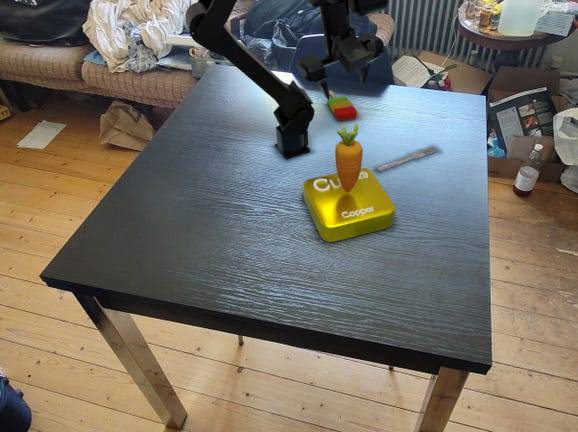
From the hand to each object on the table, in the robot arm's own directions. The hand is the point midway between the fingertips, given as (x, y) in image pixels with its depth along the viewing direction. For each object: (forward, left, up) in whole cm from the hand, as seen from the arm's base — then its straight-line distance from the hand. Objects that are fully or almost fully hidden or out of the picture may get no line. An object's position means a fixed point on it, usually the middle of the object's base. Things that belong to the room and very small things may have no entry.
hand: (345, 91), depth 100 cm
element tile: (-13, -23, -13) cm, 29 cm away
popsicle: (+7, +14, -13) cm, 20 cm away
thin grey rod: (+8, -15, -13) cm, 21 cm away
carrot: (-13, -23, -8) cm, 27 cm away
